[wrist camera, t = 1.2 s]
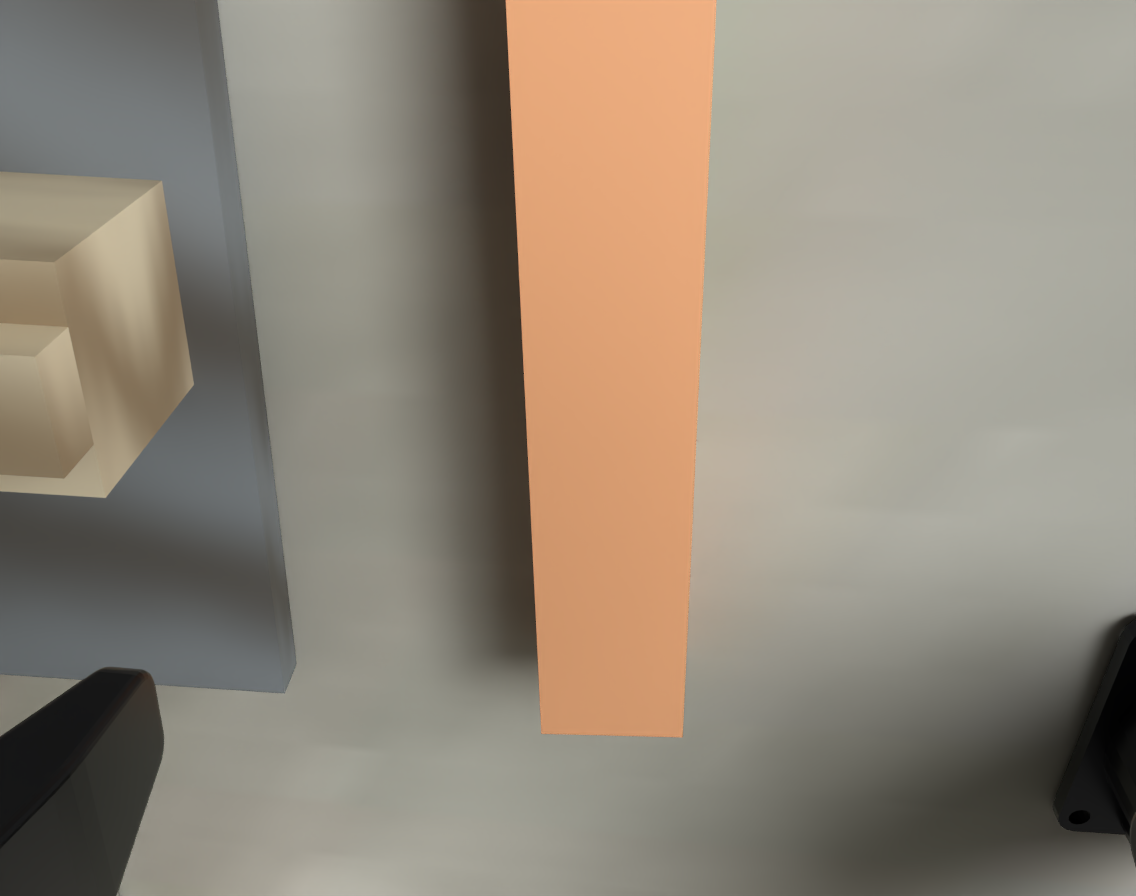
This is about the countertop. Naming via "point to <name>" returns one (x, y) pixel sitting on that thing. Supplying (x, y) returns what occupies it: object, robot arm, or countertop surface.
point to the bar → (611, 343)
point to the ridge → (130, 358)
